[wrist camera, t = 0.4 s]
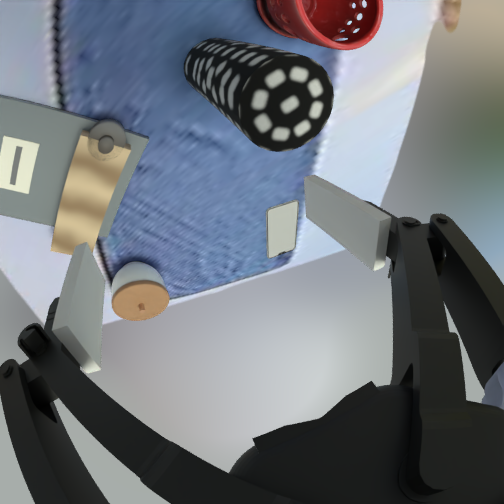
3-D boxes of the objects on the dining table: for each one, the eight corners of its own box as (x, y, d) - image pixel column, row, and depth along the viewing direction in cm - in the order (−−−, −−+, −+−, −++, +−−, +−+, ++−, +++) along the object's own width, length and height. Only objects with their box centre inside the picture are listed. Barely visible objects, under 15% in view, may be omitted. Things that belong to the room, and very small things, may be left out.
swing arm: (89, 111, 27) (87, 119, 25) (138, 127, 32) (140, 136, 30) (51, 242, 36) (49, 256, 34) (90, 249, 41) (90, 263, 39)
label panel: (-1, 91, 20) (-7, 94, 18) (150, 134, 35) (151, 139, 34) (-19, 206, 28) (-23, 214, 26) (107, 233, 43) (107, 241, 42)
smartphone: (299, 199, 56) (295, 249, 67) (297, 197, 57) (294, 247, 68) (266, 209, 55) (267, 259, 66) (264, 207, 55) (266, 257, 66)
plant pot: (331, 35, 33) (387, 50, 26) (255, 45, 31) (302, 56, 24) (323, -36, 23) (382, -38, 16) (239, -35, 21) (286, -52, 14)
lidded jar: (120, 246, 46) (126, 286, 41) (170, 259, 54) (182, 297, 48) (101, 284, 50) (105, 324, 44) (146, 294, 58) (155, 330, 52)
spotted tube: (206, 104, 36) (270, 169, 23) (171, 62, 29) (216, 94, 17) (253, 71, 34) (344, 116, 22) (223, 27, 28) (311, 36, 16)
